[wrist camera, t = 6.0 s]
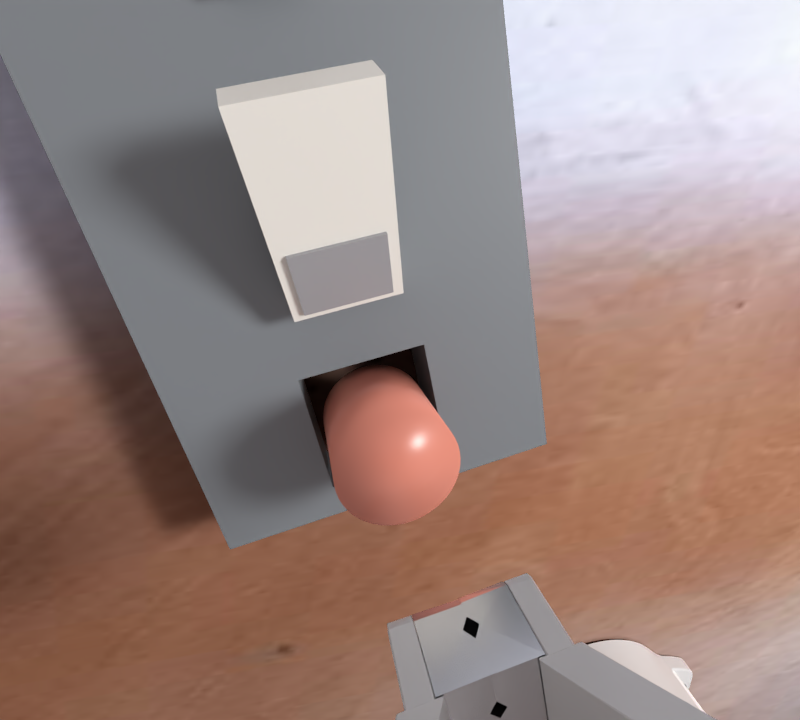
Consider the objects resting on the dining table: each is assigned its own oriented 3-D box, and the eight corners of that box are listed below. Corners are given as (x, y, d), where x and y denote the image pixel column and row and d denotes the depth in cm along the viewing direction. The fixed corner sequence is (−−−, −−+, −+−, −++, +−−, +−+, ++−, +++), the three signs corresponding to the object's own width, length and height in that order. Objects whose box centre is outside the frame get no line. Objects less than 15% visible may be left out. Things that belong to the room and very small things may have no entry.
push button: (432, 440, 20) (469, 501, 16) (338, 470, 20) (351, 541, 16) (413, 352, 19) (449, 394, 15) (310, 381, 18) (317, 435, 14)
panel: (516, 416, 24) (560, 456, 20) (237, 505, 22) (226, 570, 18) (445, -155, 16) (498, -272, 12) (-27, -99, 13) (-153, -220, 10)
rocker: (393, 273, 17) (405, 295, 16) (289, 300, 16) (295, 325, 16) (372, 59, 12) (387, 76, 11) (215, 89, 11) (218, 109, 10)
